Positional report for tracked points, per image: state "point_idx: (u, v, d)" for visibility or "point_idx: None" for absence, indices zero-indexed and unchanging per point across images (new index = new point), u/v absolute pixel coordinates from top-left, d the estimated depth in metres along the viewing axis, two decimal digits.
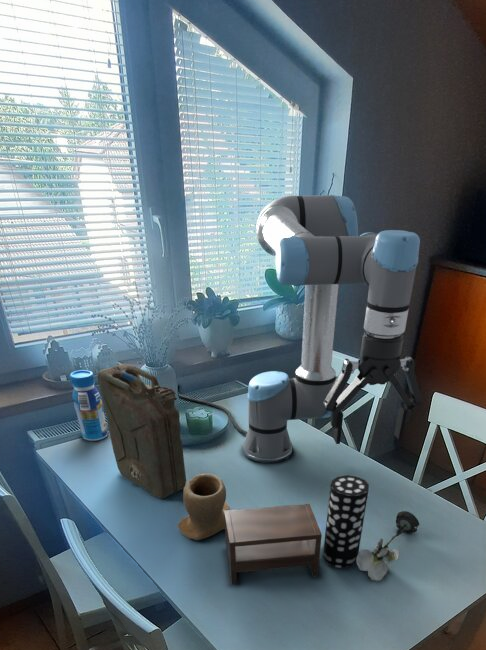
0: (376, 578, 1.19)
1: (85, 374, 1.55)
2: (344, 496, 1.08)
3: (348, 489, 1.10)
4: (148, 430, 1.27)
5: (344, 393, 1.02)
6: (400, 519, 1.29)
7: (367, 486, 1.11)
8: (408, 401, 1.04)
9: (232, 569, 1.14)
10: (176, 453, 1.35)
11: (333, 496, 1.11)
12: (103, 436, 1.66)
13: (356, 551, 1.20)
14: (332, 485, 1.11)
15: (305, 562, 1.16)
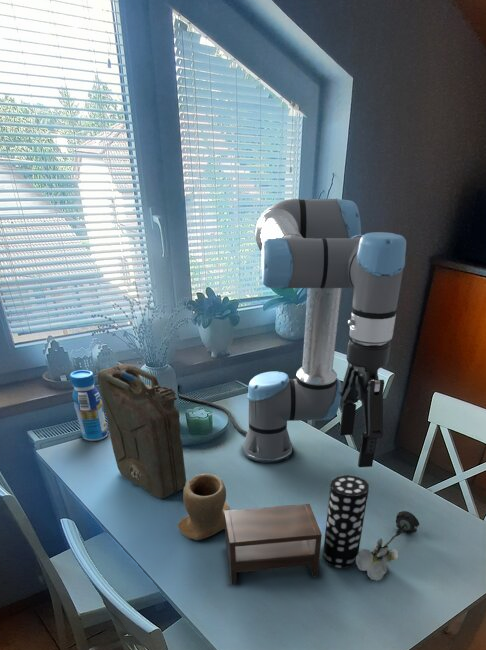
0: (375, 578, 1.19)
1: (85, 374, 1.55)
2: (344, 496, 1.08)
3: (348, 489, 1.10)
4: (148, 430, 1.27)
5: None
6: (400, 519, 1.29)
7: (367, 486, 1.11)
8: (365, 426, 0.94)
9: (232, 569, 1.14)
10: (176, 453, 1.35)
11: (333, 496, 1.11)
12: (103, 436, 1.66)
13: (356, 551, 1.20)
14: (332, 485, 1.11)
15: (305, 562, 1.16)
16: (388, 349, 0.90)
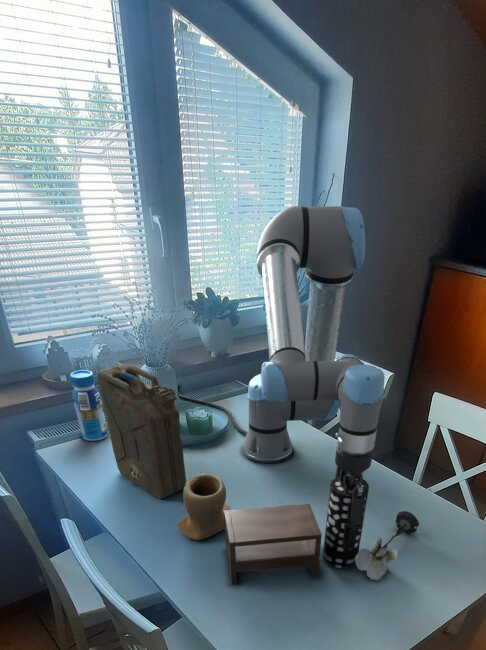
0: (375, 578, 1.19)
1: (85, 374, 1.55)
2: (344, 496, 1.08)
3: (348, 490, 1.10)
4: (148, 430, 1.27)
5: None
6: (400, 519, 1.30)
7: (367, 486, 1.11)
8: (348, 519, 1.11)
9: (232, 569, 1.14)
10: (176, 453, 1.35)
11: (333, 496, 1.11)
12: (103, 436, 1.66)
13: (356, 551, 1.20)
14: (332, 485, 1.11)
15: (305, 562, 1.16)
16: (370, 456, 1.04)
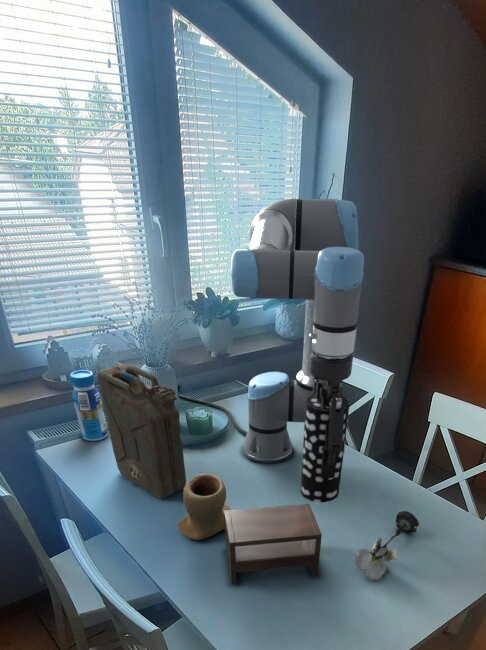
0: (374, 577, 1.19)
1: (85, 374, 1.55)
2: (321, 412, 0.95)
3: None
4: (148, 430, 1.27)
5: None
6: (400, 519, 1.30)
7: (347, 402, 0.97)
8: (326, 440, 0.97)
9: (232, 569, 1.14)
10: (176, 453, 1.35)
11: (308, 413, 0.97)
12: (103, 436, 1.66)
13: (337, 483, 1.07)
14: (308, 401, 0.97)
15: (305, 562, 1.16)
16: (350, 362, 0.91)
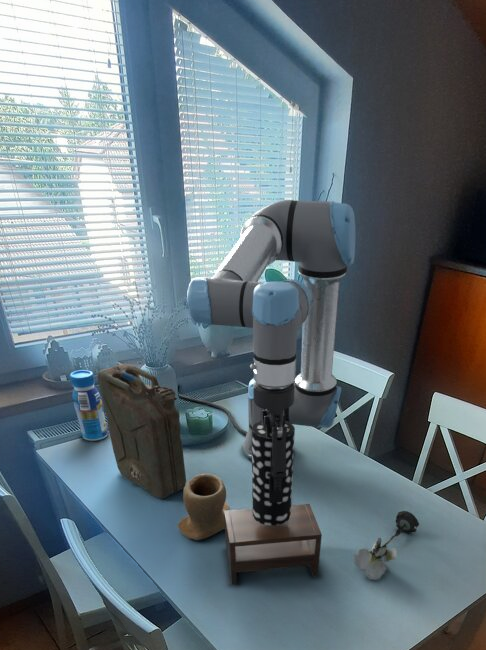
0: (374, 577, 1.19)
1: (85, 374, 1.55)
2: (265, 440, 0.97)
3: (270, 433, 0.98)
4: (148, 430, 1.27)
5: None
6: (400, 519, 1.30)
7: (292, 429, 0.99)
8: (271, 466, 0.99)
9: (232, 569, 1.14)
10: (176, 453, 1.35)
11: (254, 440, 0.99)
12: (103, 436, 1.66)
13: (287, 506, 1.08)
14: (253, 428, 0.99)
15: (305, 562, 1.16)
16: (291, 392, 0.92)
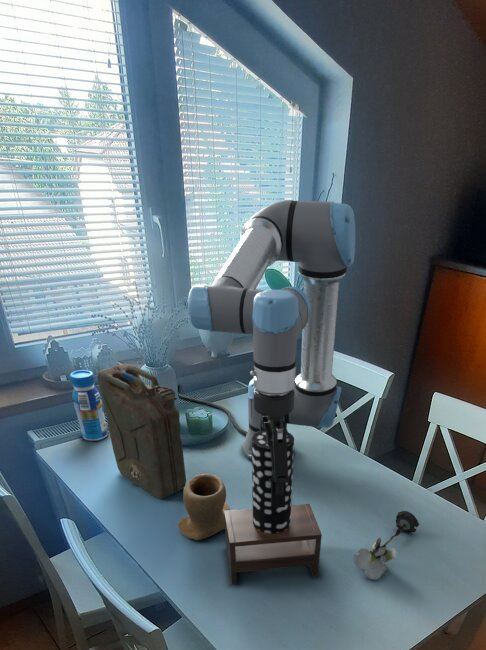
0: (373, 577, 1.19)
1: (85, 374, 1.55)
2: (265, 450, 0.98)
3: None
4: (148, 430, 1.27)
5: None
6: (400, 519, 1.30)
7: (292, 439, 1.00)
8: (273, 471, 0.97)
9: (232, 569, 1.14)
10: (176, 453, 1.35)
11: (254, 450, 1.00)
12: (103, 436, 1.66)
13: (286, 515, 1.10)
14: (253, 438, 1.00)
15: (305, 562, 1.16)
16: (291, 398, 0.93)
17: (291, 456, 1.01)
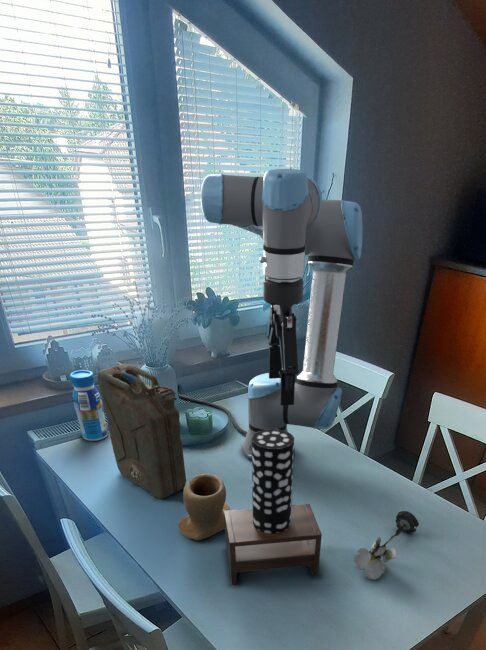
0: (373, 577, 1.19)
1: (85, 374, 1.55)
2: (265, 450, 0.98)
3: (270, 443, 0.99)
4: (148, 430, 1.27)
5: None
6: (400, 519, 1.30)
7: (292, 439, 1.00)
8: (282, 363, 0.99)
9: (232, 569, 1.14)
10: (176, 453, 1.35)
11: (254, 450, 1.00)
12: (103, 436, 1.66)
13: (286, 515, 1.10)
14: (253, 438, 1.00)
15: (305, 562, 1.16)
16: (300, 286, 0.94)
17: (291, 456, 1.01)
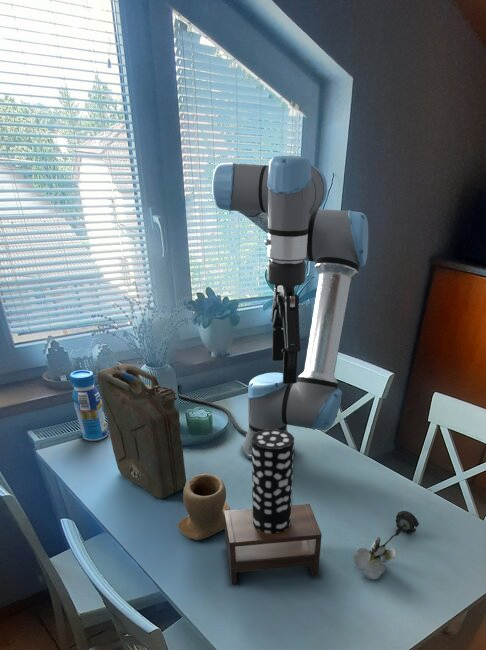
0: (372, 577, 1.19)
1: (85, 374, 1.55)
2: (265, 450, 0.98)
3: (270, 443, 0.99)
4: (148, 430, 1.27)
5: None
6: (400, 519, 1.30)
7: (292, 439, 1.00)
8: (285, 342, 1.03)
9: (232, 569, 1.14)
10: (176, 453, 1.35)
11: (254, 450, 1.00)
12: (103, 436, 1.66)
13: (286, 515, 1.10)
14: (253, 438, 1.00)
15: (305, 562, 1.16)
16: (303, 268, 0.99)
17: (291, 456, 1.01)
